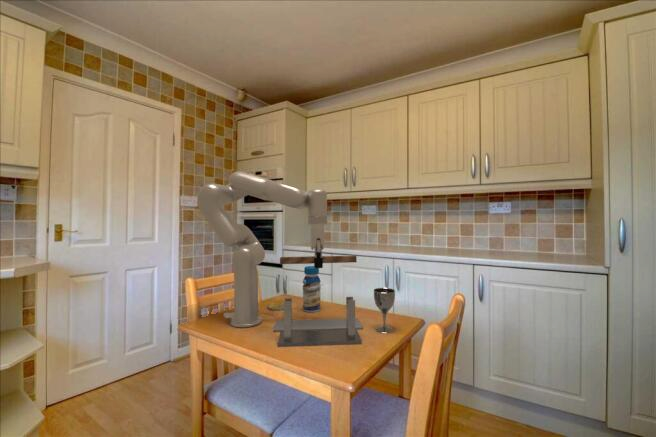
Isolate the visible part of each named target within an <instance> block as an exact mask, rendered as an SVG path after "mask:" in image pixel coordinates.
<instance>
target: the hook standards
mask: <svg viewBox="0 0 656 437" xmlns="http://www.w3.org/2000/svg"><path fill="white" fill-rule="evenodd" d="M292 300H293V298H292V297H287V298H284V309H283V320H284V332H279V336H278V340H277V347H279V348H281V347H305V346H306V347H307V346H330V345H331V346H337V345H338V346H339V345H343V346H344V345H358V344H359V345H361V344H363V343H362V342H363V339H362V338H361V336H360V334H359V331H358V329H355V318H356V299H354V297H353V296H346V297H345V302H346V304H345V308H346V310H345V315H346V316H345V319H346V330H320V331H292V320H293V319H292V318H293V315H292V314H293V311H292V310H293V309H292V307H293V306H292V304H293V301H292Z"/></svg>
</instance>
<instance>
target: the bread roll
mask: <svg viewBox="0 0 656 437" xmlns="http://www.w3.org/2000/svg"><path fill="white" fill-rule="evenodd" d="M284 302H285V300H282V299H272V300H270V301H268V302H267V305H266V307H267V309H268V310H269V311H271V310H272V311H283V310H284Z"/></svg>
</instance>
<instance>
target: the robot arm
mask: <svg viewBox="0 0 656 437" xmlns="http://www.w3.org/2000/svg"><path fill="white" fill-rule="evenodd" d="M327 193H328V192H327V191H326V190H325V189H311V190H307V191H306V190H302V189H299V188H297V187H294V186H290V185H286V184H282V183H280V182H277V181H274V180H272V179H269V178H266V177H262V176H258V175H256V174H251V173H248V172H245V171H241V170H239V171H234V172H232V173H231V174H230V176H229V177H228V184H226V185H223V184H219V183H213V182H211V183H207V184H205V185H203V186H202V187H201V189H200V190H199V192H198V196H197V206H198V209H199V211H200V213H201V214H202V215H203V217H204V218H205V220H206V222H208V224H209V225H210V227H211V228H212V230H213V231H214V232H215V234H216V235H217V237H218V238H219V240H220V242H222V244H223V245H225V247H230V248H233V247H236V249H235V250H234V252H233V253H232V257H231V263H232V269H233V283H234V284H233V293H234V295H233V298H234V299H233V300H234V301H233V302H234V303H233V305H234V306H233V310H234V311H231V312H223V318H225V320H228V319H230V321H229V322H230V325H231V326H232V327H235V328H251V327H255V326H258V325H260V324H261V323H262V322H263V317H262V316H261V315H259V274H258V268H257V265H260V264H261V263H262V262H263V261H264V259H265V257H266V252H265V248H264V247H263V244H261V242H260V241H259V240H258V238H257V237H256V236H255V234H254V233H253V231H252V230H251V229H250V228H249V227H248V226H247V225H245V224H242V223H236V222H235V221H234V219H232V216H230V214H229V212H228V211H227V210H226V209H224V208H223V206H227V205H231V204H233V203H235V202H238V200H242V199H243V198H245V197H247V196H249V197H255V198H257V199H261V200H263V201H269V202H273V203H276V204H279V205H282V206H286V207H289V208H292V209H298V210H300V209H302V210H303V209H307V211H308V212H307V214H308V215H307V216H308V217H307V223H308V226H310V250H311V251H313V250H314V256H315V258H314V263H313V266H314V267H315V268H319V269H323V268H324V267H323V266H324V265H323V264H324V263H323V258H322V256H323V250H324V249H325V248H324V247H325V225H328V194H327Z"/></svg>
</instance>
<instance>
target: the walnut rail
mask: <svg viewBox="0 0 656 437" xmlns="http://www.w3.org/2000/svg"><path fill="white" fill-rule="evenodd" d="M314 258H315V255H313V256H309V255H308V256H281V257H279V265H299V264H302V265H304V264H306V265H308V264H309V265H310V264H314ZM322 258H323V264H338V263H339V264H340V263H341V264H342V263H346V264H347V263H350V264H351V263H357V260H358V259H357V255H354V254H353V255H322Z"/></svg>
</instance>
